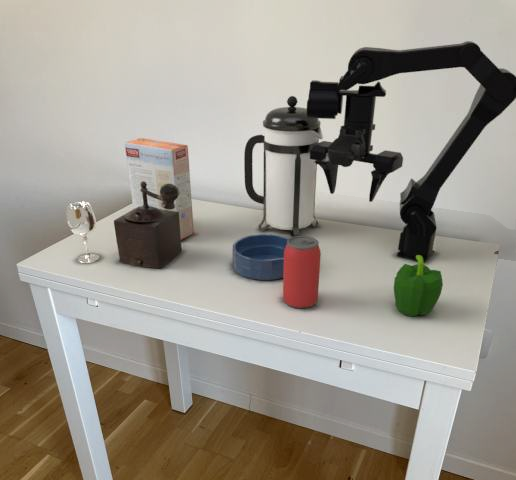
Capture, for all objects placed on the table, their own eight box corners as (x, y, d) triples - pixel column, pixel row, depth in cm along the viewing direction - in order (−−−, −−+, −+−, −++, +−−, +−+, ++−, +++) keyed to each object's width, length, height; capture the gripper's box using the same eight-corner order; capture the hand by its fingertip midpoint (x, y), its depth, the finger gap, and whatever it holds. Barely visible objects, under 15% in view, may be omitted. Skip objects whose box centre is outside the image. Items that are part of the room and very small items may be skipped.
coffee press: (310, 214, 141) (317, 89, 125) (325, 238, 128) (334, 101, 111) (244, 218, 139) (242, 91, 123) (252, 242, 126) (251, 103, 109)
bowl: (309, 263, 116) (310, 243, 114) (274, 287, 107) (274, 266, 104) (257, 248, 123) (257, 229, 120) (219, 269, 113) (219, 250, 111)
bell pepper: (433, 325, 94) (444, 274, 89) (386, 316, 97) (394, 265, 92) (439, 304, 101) (449, 254, 95) (395, 296, 104) (403, 247, 98)
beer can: (322, 306, 100) (327, 246, 94) (289, 311, 99) (291, 250, 92) (310, 290, 105) (313, 232, 99) (278, 295, 104) (279, 236, 97)
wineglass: (107, 256, 119) (98, 203, 113) (90, 266, 115) (80, 211, 108) (87, 251, 121) (77, 199, 115) (69, 261, 117) (58, 207, 110)
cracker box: (195, 234, 130) (189, 144, 119) (179, 242, 126) (171, 149, 114) (151, 222, 136) (141, 136, 125) (135, 230, 132) (123, 141, 121)
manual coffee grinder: (116, 263, 116) (102, 179, 106) (143, 244, 125) (133, 165, 115) (180, 275, 111) (172, 188, 101) (203, 254, 120) (198, 173, 110)
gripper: (297, 121, 106) (294, 199, 115) (385, 133, 97) (375, 216, 106) (325, 112, 114) (320, 186, 122) (409, 122, 105) (397, 201, 113)
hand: (351, 197), depth 116 cm, fingers open, 9 cm apart
